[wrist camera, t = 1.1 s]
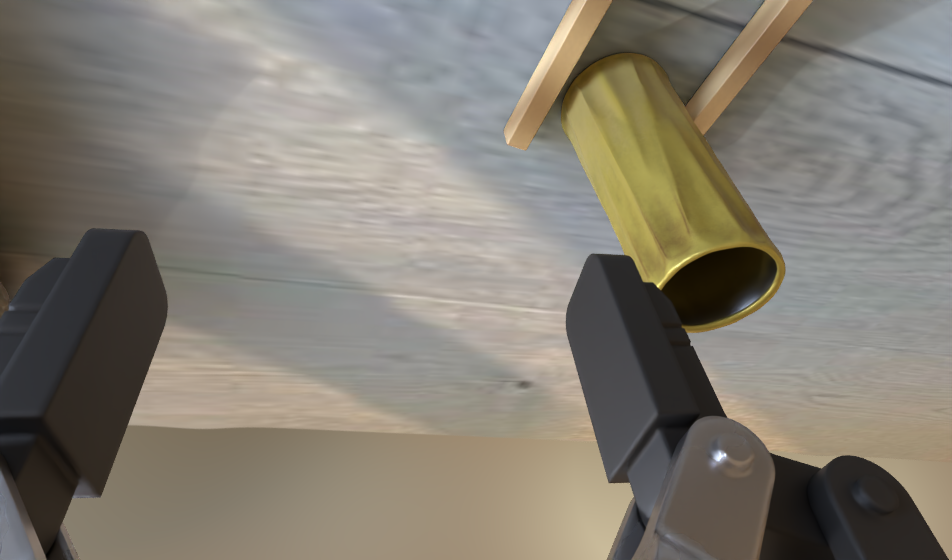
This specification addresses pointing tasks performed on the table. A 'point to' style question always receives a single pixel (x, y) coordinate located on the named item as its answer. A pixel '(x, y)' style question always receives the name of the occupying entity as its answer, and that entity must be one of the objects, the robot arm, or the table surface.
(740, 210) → the vase
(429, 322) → the table surface
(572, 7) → the u-shaped frame
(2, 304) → the long grey stone
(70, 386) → the robot arm
